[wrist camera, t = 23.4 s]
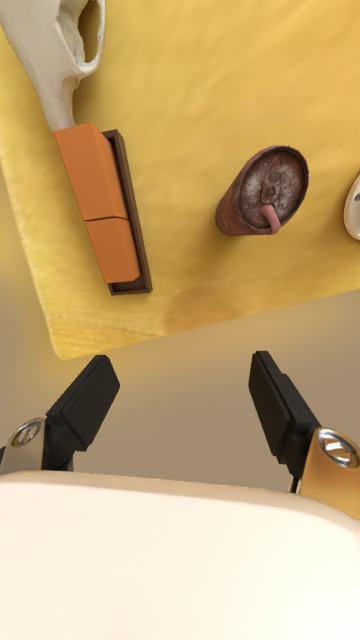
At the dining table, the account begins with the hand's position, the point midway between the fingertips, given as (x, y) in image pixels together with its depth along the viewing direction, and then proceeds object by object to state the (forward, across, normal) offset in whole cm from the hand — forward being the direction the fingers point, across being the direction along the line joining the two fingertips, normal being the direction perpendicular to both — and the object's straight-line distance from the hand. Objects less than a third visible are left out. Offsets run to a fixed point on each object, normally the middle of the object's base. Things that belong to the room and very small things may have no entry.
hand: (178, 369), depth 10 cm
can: (+24, -8, -10) cm, 27 cm away
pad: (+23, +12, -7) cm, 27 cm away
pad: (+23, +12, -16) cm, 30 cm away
